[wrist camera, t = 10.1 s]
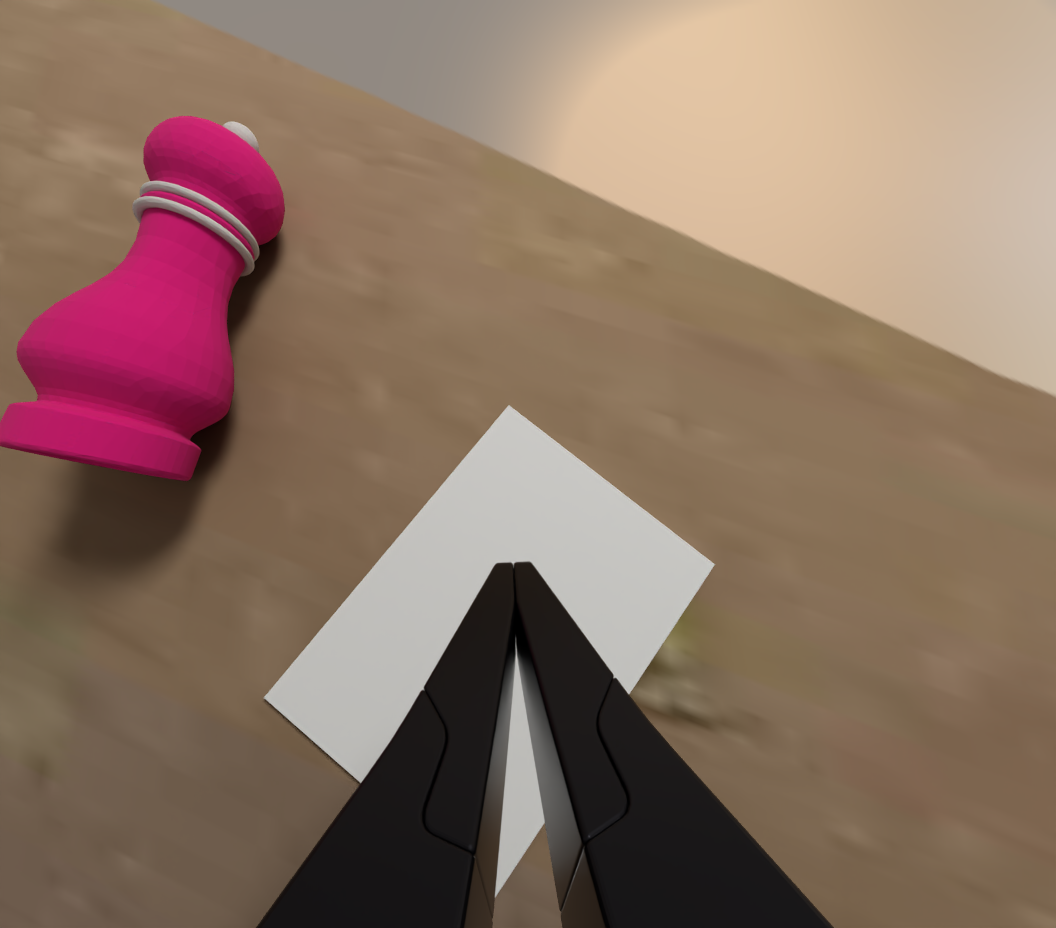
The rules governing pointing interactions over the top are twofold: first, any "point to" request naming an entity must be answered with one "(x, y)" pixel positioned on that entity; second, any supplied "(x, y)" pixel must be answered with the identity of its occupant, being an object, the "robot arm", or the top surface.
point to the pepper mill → (153, 313)
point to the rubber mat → (453, 583)
